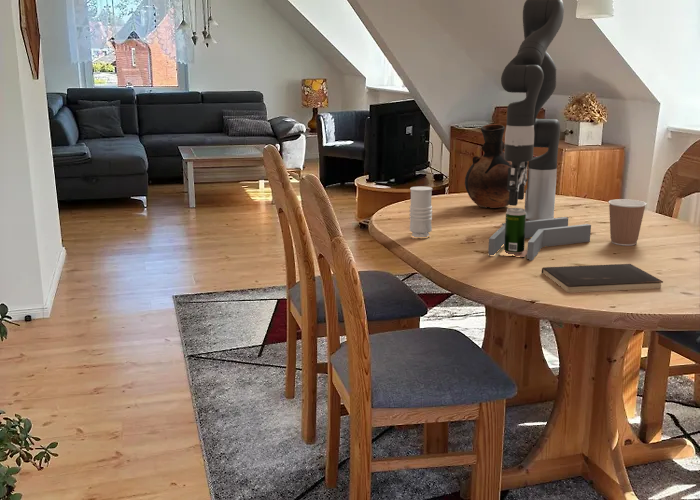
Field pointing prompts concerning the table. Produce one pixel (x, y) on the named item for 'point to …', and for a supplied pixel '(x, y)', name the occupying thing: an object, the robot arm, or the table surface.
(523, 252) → the pad
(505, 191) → the ceramic vessel
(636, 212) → the coffee cup
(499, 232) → the bent channel
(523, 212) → the beer can
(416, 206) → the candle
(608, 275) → the hardcover book
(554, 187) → the robot arm
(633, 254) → the table surface
